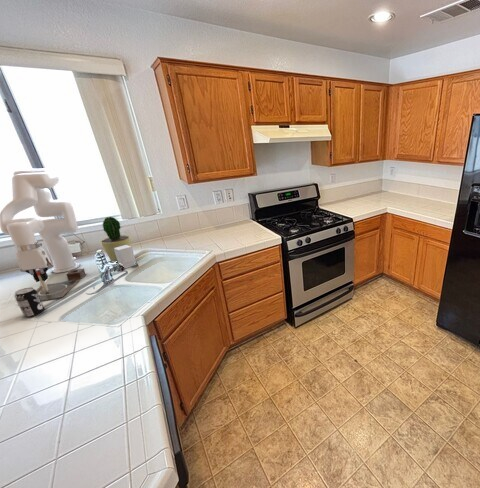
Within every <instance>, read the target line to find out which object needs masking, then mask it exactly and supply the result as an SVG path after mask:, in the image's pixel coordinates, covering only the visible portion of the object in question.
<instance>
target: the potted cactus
mask: <svg viewBox="0 0 480 488" xmlns="http://www.w3.org/2000/svg"><path fill="white" fill-rule="evenodd" d="M120 222H121V221H120V220H118V219H117V218H116V217H114V216H107V217H104V219H103V221H102V225H101V227H102V228H103V232H104V233H105V234H106V236H107V237H106V238H103V239H101V240H100V244H101V246H102V248H103V249H104V251H105V252H106V255H107V257H108V258H109V260H110V262H111V261H117V257H116V254H115V251H114V248H116V247H120V246H123V245H129V246H131V236H130V235H126V234H125V235H124V234H123V235H122V234H121V228H122V226H121V223H120ZM131 247H132V246H131ZM117 262H118V261H117Z"/></svg>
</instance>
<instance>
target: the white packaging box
mask: <svg viewBox="0 0 480 488" xmlns="http://www.w3.org/2000/svg"><path fill="white" fill-rule="evenodd" d="M114 251H115V254H116V257H117V261H118V263H121V264H123V266H124V268H123V269H128V268H131V267H134V266H137V265H138V263H137V260H136V257H135V253H134V250H133V246H129V245H123V246H120V247H116V248H114ZM118 263H117V264H118ZM134 263H136V264H134Z"/></svg>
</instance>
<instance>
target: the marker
mask: <svg viewBox="0 0 480 488" xmlns="http://www.w3.org/2000/svg"><path fill="white" fill-rule="evenodd" d="M35 272H36V274H37V276H38V278H39V283H40V285H41V286H42V288H43V290H44V291H45V292H47V291H48V287H47V284H48V283H47V282H46V281H43V280H42V278H41V276H40V274H41V272H40V270H39V269H36V271H35Z"/></svg>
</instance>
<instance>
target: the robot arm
mask: <svg viewBox="0 0 480 488" xmlns="http://www.w3.org/2000/svg"><path fill="white" fill-rule="evenodd" d="M59 181H60V176H59V173H58V172H57V171H56V170H55V169H53V168H24V169H17V170H15V171H14V172H13V176H12V178H11V189H12V200H11V201H9V203H7V204H6V205H5V206H4V207H3V208H2V209H1V211H0V230H1V232H2V234H4V235H6V236H10V239H11V240H12V243H13V246H14V247H15V249H16V251H15V256H16V261H17V264H18V266H19V268H20V272H21V273H26V274H29V275H31V276H32V277H33V279H34V281H35V282H36V283H40V281H39V278H38V276H37V274H36V272H35V271H37V270H40V272H41V274H40V276H41V278H42V280H43V281H45V282H46V281H47V280H48V279H49V275H48V274H47V272H48V270H50V269H51V272H52V273H54V274H58V273H59V274H60V273H66V272H69V271H71V270H76V269H78V268H79V267H80V263H79V262H76V260H77V257H75V256H73V253H72V250H71V248H70V245H69V242H68V240H67V238H65V237H64V236H63V235H66V234H67V235H68V234H73V233H76V232H78V230H79V226H78V221H77V217H76V215H75V211H74V208H73V206H72V203H71V202H70V201H69V200H68V199H64V198H63V199H54V198H53V195H52V192H51V190H50V189H52V188H54V187H55V186H56V185H57V184H59ZM32 207H33V209H34V212H35V213H36V215H37V217H28V218H17V219H16V218H15V216H16V215H17V214H19V213H21V212H23V211H24V210H27V209H29V208H32ZM38 217H40V218H47V219H40V218H38ZM53 217H56V218H53ZM57 217H60V218H57ZM14 218H15V219H14ZM37 233H38V234H39V236H40V237H41V239H42V241H43V243H44V245H45V248H46V250H47V252H46V250H45V249H44V248H43V247H42V246H43V244H42V242H38V240H37V238H36V235H35V234H37Z"/></svg>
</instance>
